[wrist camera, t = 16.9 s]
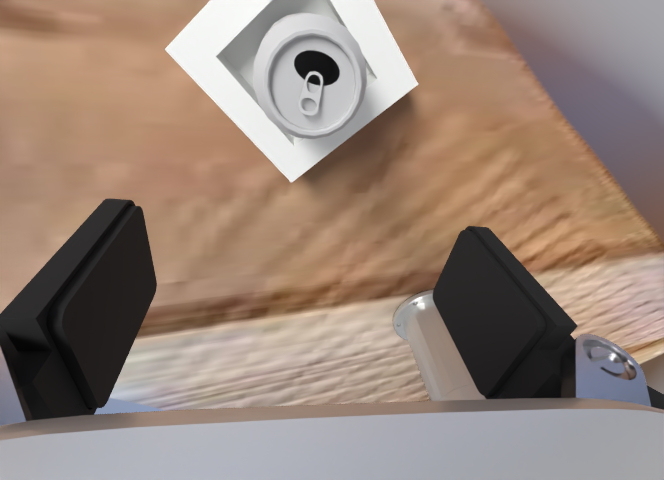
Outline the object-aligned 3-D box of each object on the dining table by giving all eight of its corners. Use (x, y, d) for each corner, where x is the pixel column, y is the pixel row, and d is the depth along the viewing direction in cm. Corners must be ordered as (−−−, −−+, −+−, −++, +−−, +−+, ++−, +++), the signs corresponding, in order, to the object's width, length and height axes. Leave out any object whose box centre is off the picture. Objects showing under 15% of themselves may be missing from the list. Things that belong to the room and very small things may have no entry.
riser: (399, 72, 34) (418, 84, 29) (290, 159, 38) (291, 182, 34) (308, -91, 26) (314, -112, 21) (183, 41, 30) (164, 49, 26)
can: (353, 31, 29) (392, 41, 19) (327, 115, 33) (349, 159, 23) (269, -3, 27) (265, -11, 17) (252, 91, 31) (240, 129, 21)
